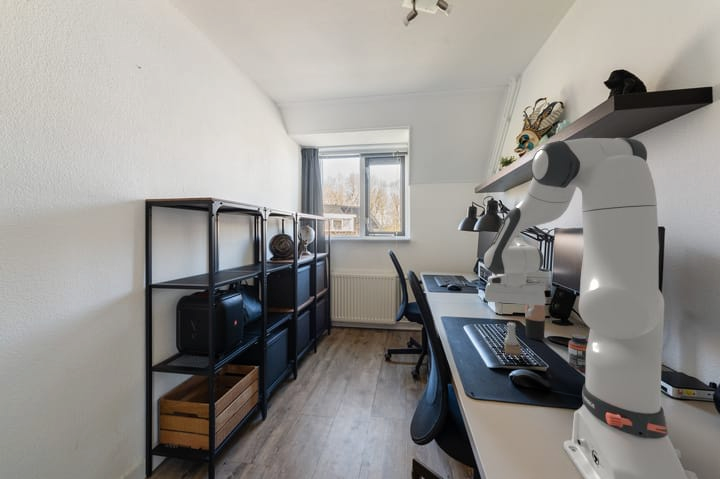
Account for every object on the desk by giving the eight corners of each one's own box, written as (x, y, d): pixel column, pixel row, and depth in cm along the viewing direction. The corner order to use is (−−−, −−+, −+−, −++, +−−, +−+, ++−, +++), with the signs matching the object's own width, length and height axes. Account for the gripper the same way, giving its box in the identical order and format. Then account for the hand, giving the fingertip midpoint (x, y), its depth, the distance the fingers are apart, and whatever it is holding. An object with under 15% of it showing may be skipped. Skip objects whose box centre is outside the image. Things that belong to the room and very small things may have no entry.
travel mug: (521, 335, 124) (521, 293, 124) (531, 332, 128) (531, 291, 127) (538, 341, 118) (538, 296, 117) (548, 338, 121) (548, 295, 120)
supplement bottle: (581, 363, 97) (582, 333, 97) (594, 372, 91) (595, 339, 91) (564, 363, 98) (564, 332, 97) (576, 371, 92) (576, 339, 91)
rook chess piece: (519, 346, 99) (520, 325, 99) (507, 345, 100) (507, 324, 100) (515, 341, 104) (515, 321, 104) (503, 340, 105) (503, 320, 104)
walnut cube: (520, 360, 99) (520, 347, 99) (505, 358, 101) (505, 345, 101) (518, 354, 103) (518, 342, 103) (504, 352, 105) (504, 340, 105)
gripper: (543, 278, 100) (544, 315, 100) (484, 276, 109) (485, 310, 108) (547, 281, 94) (548, 319, 94) (484, 278, 103) (485, 314, 103)
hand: (514, 314), depth 101 cm, fingers open, 8 cm apart
